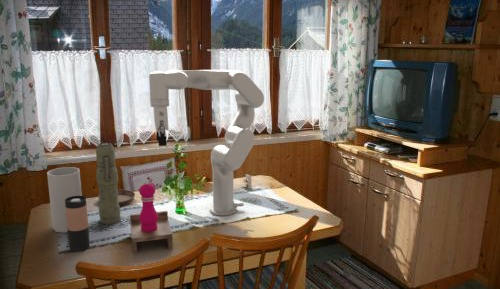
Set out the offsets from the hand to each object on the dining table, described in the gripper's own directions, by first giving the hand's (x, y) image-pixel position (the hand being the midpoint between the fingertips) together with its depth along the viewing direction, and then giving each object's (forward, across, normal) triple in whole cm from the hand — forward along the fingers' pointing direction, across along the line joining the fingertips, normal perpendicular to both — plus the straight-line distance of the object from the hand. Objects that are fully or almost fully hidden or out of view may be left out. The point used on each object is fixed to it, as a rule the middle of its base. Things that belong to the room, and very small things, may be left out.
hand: (161, 143), depth 187 cm
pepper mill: (+31, -17, +8) cm, 36 cm away
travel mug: (+36, -14, +34) cm, 52 cm away
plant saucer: (+37, +36, +20) cm, 55 cm away
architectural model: (+37, +38, -48) cm, 72 cm away
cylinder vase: (+36, +8, +40) cm, 55 cm away
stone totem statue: (+36, +11, +23) cm, 45 cm away
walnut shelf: (+36, -16, +7) cm, 40 cm away
